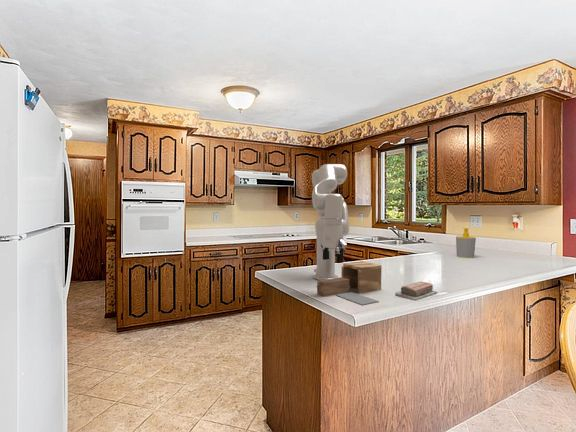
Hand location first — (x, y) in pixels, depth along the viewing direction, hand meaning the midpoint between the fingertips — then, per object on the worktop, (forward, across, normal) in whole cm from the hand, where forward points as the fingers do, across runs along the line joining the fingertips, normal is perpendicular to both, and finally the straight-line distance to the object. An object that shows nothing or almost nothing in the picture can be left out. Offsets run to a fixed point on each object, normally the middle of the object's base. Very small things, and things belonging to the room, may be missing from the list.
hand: (332, 261), depth 152 cm
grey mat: (+14, +12, +3) cm, 19 cm away
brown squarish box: (+14, 0, +17) cm, 22 cm away
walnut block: (+14, 0, 0) cm, 14 cm away
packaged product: (+15, +20, +31) cm, 40 cm away
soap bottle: (+15, -32, +149) cm, 153 cm away
